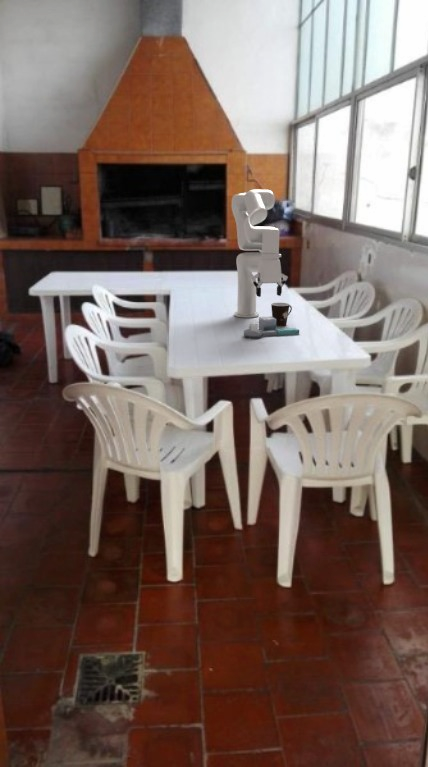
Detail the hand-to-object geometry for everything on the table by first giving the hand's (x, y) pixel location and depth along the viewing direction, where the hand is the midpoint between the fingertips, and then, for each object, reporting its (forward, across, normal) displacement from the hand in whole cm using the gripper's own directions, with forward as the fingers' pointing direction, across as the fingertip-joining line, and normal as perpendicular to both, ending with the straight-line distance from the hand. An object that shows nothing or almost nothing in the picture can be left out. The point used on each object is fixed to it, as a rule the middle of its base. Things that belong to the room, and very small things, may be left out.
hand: (268, 295), depth 262 cm
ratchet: (+16, +1, +7) cm, 18 cm away
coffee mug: (+16, -12, -11) cm, 23 cm away
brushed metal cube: (+16, 0, -1) cm, 16 cm away
